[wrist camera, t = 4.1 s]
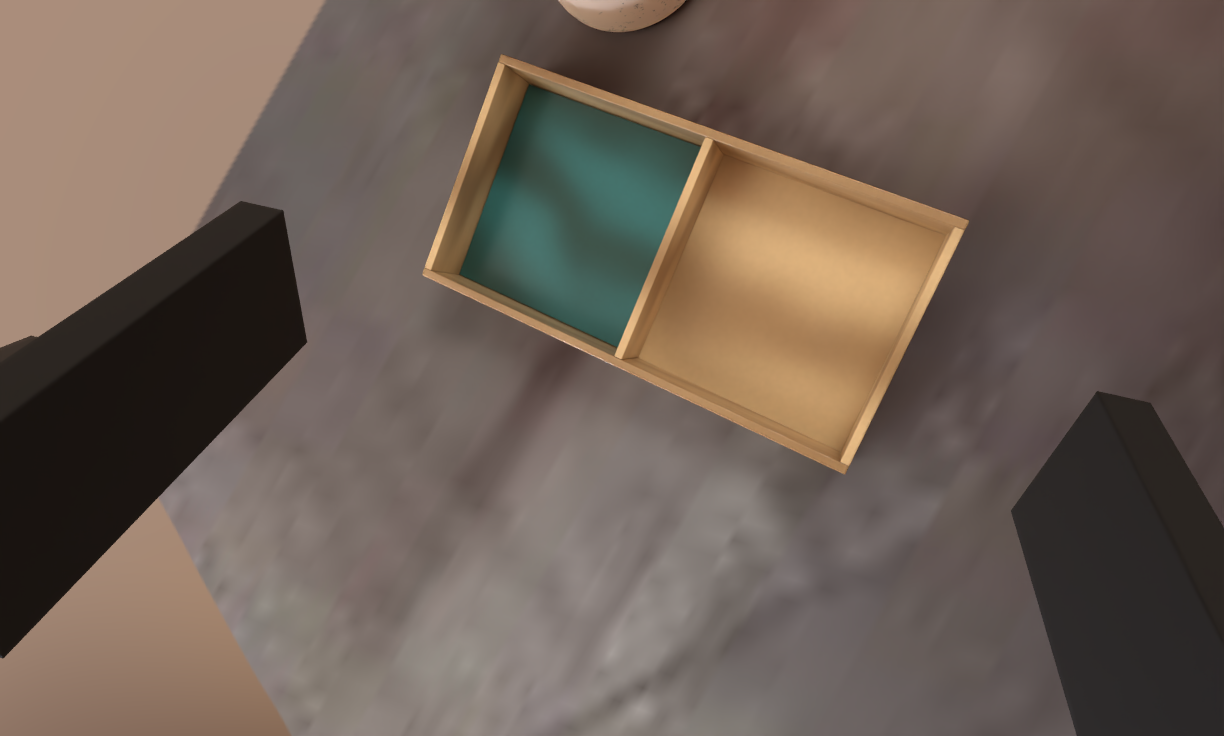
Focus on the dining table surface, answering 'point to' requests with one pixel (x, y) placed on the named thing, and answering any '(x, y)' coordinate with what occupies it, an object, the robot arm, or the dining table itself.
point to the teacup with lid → (620, 13)
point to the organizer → (691, 257)
